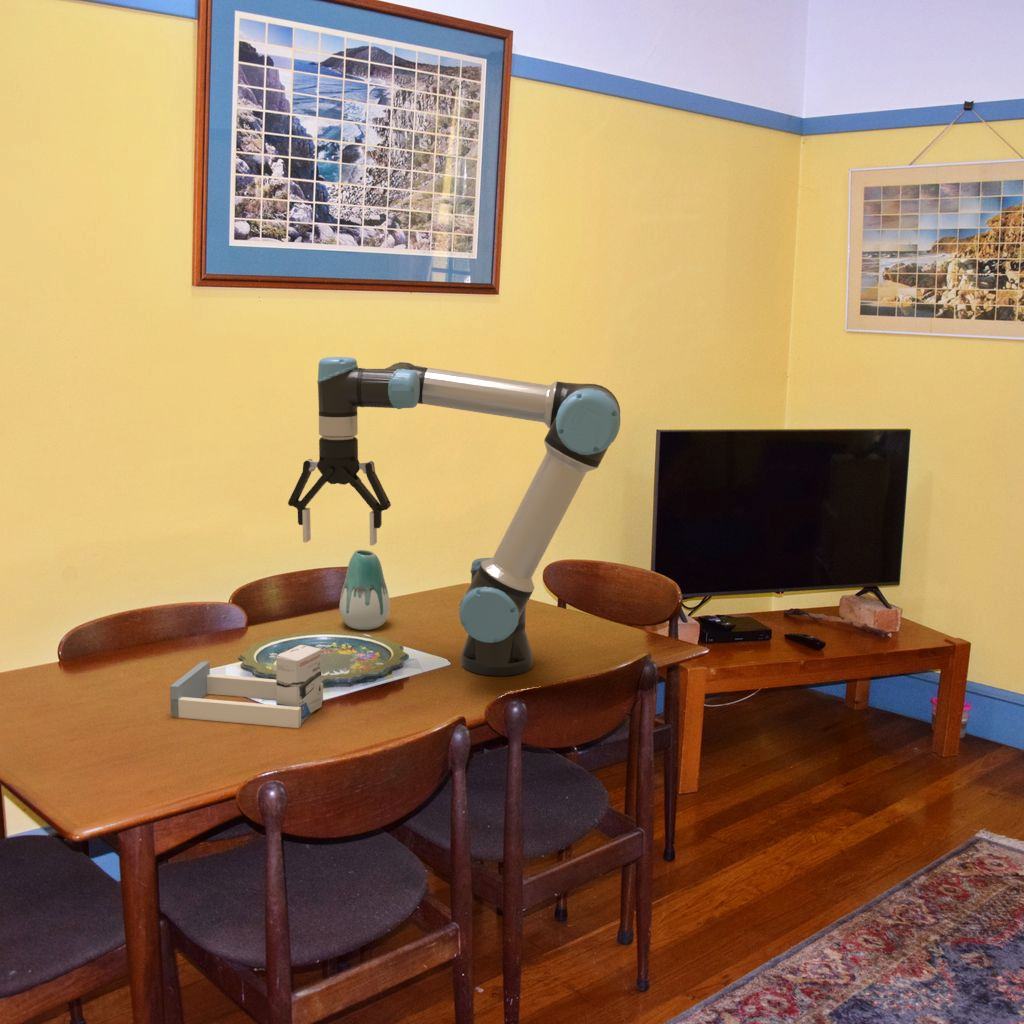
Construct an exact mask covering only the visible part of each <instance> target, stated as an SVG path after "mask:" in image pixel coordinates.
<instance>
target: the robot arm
mask: <svg viewBox="0 0 1024 1024" xmlns="http://www.w3.org/2000/svg"><path fill="white" fill-rule="evenodd" d="M317 372H318V373H317V376H318V377H317V381H316V382H317V396H318V397H317V398H318V435H320V436H321V437H320V438H319V440H318V447H319V448H318V449H319V450H318V452H319V453H318V454H319V455H318V456H319V460H318V461H314V460H313V459H312V458H309V459H307V460H305V461H304V462H303V463H302V464H303V466H302V471H301V474H300V476H299V478H298V481H297V482H296V484H295V486H294V489H293V491H292V493H291V495H290V497H289V499H288V501H287V504H288V506H289V507H294V508H296V510H297V524H298V525H299V526H302V542H303V543H305V544H306V543H308V542H310V541H311V536H312V535H311V534H312V532H311V507H307V505H308V504H310V502H311V501H312V500H313V498H314V497H315V496H316V495H317V494H318V493H319V491H320V490H321V489H322V488H323V487H324V485H325V484H326V483H329V484H330V485H335V484H339V485H344V486H345V485H347V484H349V485H350V486H351V487H352V488H354V490H355V491H356V492H357V493H358V495H359V496H361V498H362V499H363V500H364V502H365V503H366V504H367V505H368V506H369V508H370V509H371V511H370V512H369V546H375V545H376V544H377V543H378V542H377V541H378V537H377V536H378V533H377V532H378V530H377V529H380V528H381V527H382V524H383V523H382V522H383V521H382V516H383V515H382V512H383V511H386V510H388V509H390V507H391V506H392V503H391V502H390V499H389V497H388V495H387V493H386V491H385V489H384V487H383V485H382V483H381V481H380V478H379V477H378V475H377V473H376V468H375V463H374V461H372V460H370V461H368V462H360V461H359V446H358V445H359V443H358V438H357V437H356V436H357V435H358V431H359V430H358V428H359V427H358V426H359V425H358V408H382V409H383V408H385V409H386V408H387V409H397V410H401V409H413V408H415V407H416V406H417V405H418V404H420V405H427V406H435V407H442V408H448V409H454V410H458V411H459V410H461V411H468V412H473V413H480V414H487V415H493V416H500V417H506V418H513V419H519V420H525V421H532V422H538V423H543V424H544V425H546V426H547V428H548V432H547V433H546V436H545V438H544V440H543V442H544V443H543V444H544V446H545V449H546V452H545V455H544V456H543V459H542V461H541V463H540V465H539V467H538V469H537V470H536V472H535V475H534V476H533V479H532V481H531V482H530V484H529V486H528V489H527V490H526V492H525V494H524V496H523V498H522V499H521V502H520V504H519V505H518V508H517V509H516V512H515V513H514V516H513V518H512V520H511V521H510V523H509V525H508V528H507V530H506V531H505V533H504V535H503V537H502V539H501V541H500V543H499V545H498V547H497V548H496V550H495V552H494V555H493V557H480V558H476V559H474V560H473V561H472V563H471V569H470V573H471V578H470V585H469V586H468V589H467V591H466V593H465V594H464V595H463V597H462V599H461V600H460V604H459V608H458V609H459V610H458V611H459V612H458V613H459V620H460V624H461V626H462V628H463V630H464V631H465V632H466V633H467V638H466V641H465V643H464V647H463V649H462V652H461V666H462V668H464V669H465V670H466V671H469V672H470V673H471V672H472V673H474V674H478V675H484V676H493V677H497V676H498V677H504V676H516V675H519V674H524V673H525V672H528V671H529V670H531V669H532V667H533V661H534V659H533V657H534V656H533V652H532V649H531V645H530V642H529V639H528V635H527V632H526V617H527V614H526V612H527V610H526V609H527V604H528V602H529V599H530V598H531V596H532V595H533V592H534V590H535V586H534V583H533V578H532V577H533V576H534V574H535V572H536V570H537V568H538V567H539V564H540V563H541V560H542V558H543V556H544V554H545V553H546V551H547V549H548V547H549V545H550V543H551V541H552V539H553V537H554V535H555V533H556V532H557V530H558V528H559V526H560V524H561V522H562V520H563V518H564V516H565V515H566V512H567V511H568V509H569V506H570V505H571V503H572V501H573V499H574V497H575V495H576V493H577V491H578V489H579V487H580V485H581V484H582V482H583V480H584V478H585V476H586V474H587V473H588V472H591V471H594V470H596V469H598V468H599V466H600V464H601V462H602V460H603V458H604V456H605V455H606V452H607V451H608V449H609V447H610V446H611V445H612V443H613V442H614V441H615V440H616V438H617V436H618V434H619V431H620V428H621V407H620V404H619V401H618V399H617V397H616V396H615V394H614V393H613V392H612V391H611V390H610V389H608V388H606V387H605V386H603V385H600V384H597V383H576V382H575V383H573V382H566V381H565V382H564V381H557V380H556V381H554V382H553V383H551V384H543V383H536V382H528V381H522V380H515V379H508V378H502V377H501V378H500V377H493V376H490V375H489V376H488V375H480V374H475V373H467V372H461V371H455V370H446V369H440V368H435V367H424V366H419V365H415V364H413V363H411V362H405V361H401V362H400V361H399V362H396V363H393V364H391V366H388V367H386V368H363V367H359V365H358V362H357V359H356V358H354V357H347V356H329V357H328V356H327V357H326V356H325V357H322V358H321V359H320V360H319V362H318V371H317ZM316 468H317V470H318V471H319V472H320V474H321V476H320V477H319V478H318V479H317V481H316V482H315V483H314V484H313V486H312V487H311V488H310V490H308V492H307V493H306V494H305V495H304V496H303V497H302V499H301V500H300V498H301V496H302V493H303V492H304V489H305V487H306V485H307V484H308V481H309V478H310V476H311V475H312V472H314V471H316ZM360 470H361V471H362V472H363V474H365V475H366V478H367V480H368V482H369V485H370V486H371V488H372V490H373V492H374V494H375V496H376V497H375V496H374V495H373V494H372V493H371V491H370V490H369V489H368V488H367V486H366V485H365V484H364V483H363V481H362V479H361V478H360V477H359V476H358V475H357V474H358V472H359V471H360Z"/></svg>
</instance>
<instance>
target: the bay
mask: <svg viewBox="0 0 1024 1024" xmlns="http://www.w3.org/2000/svg"><path fill="white" fill-rule="evenodd" d="M210 665H211V663H210V661H205V660H204V661H203V660H202V661H201V662H200V663H198V664H197V665H196V666H193V668H191V669H190V670H189V671H188V672H186V673H185V674H184V675H182V676H181V677H180V678H178V679H177V680H176V681H175V682H174V683H172V684H171V685H169V686H170V687H169V691H170V692H169V694H170V695H169V696H170V717H171V718H179V719H180V718H181V719H190V720H201V721H202V720H203V721H210V722H211V721H212V722H213V721H214V722H224V723H237V724H246V725H247V724H248V725H249V724H250V725H256V726H257V725H260V726H268V727H269V726H270V727H280V728H293V729H299V728H301V726H302V724H301V707H294V706H282V705H277V704H269V703H268V704H267V703H258V702H247V701H245V702H244V701H235V700H221V699H210V698H204V697H205V696H206V695H207V694H208V695H218V696H228V697H229V696H230V697H241V698H253V699H254V698H255V699H263V700H264V699H265V700H275V701H277V687H276V686H277V681H276V679H274V678H273V679H271V678H263V677H262V678H261V677H249V676H240V675H239V676H236V675H226V674H215V673H214V674H213V673H211V670H210ZM323 701H324V683H322V703H323Z"/></svg>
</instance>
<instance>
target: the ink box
mask: <svg viewBox="0 0 1024 1024" xmlns="http://www.w3.org/2000/svg"><path fill="white" fill-rule="evenodd" d="M322 652H323V651H322V648H319V647H315V646H311V645H305V644H299V645H297V646H294V647H292V648H290V649H288V650H286V651H283V652H280V653H279V654H277V656H276V659H275V660H276V662H275V663H276V664H275V665H276V672H275V673H276V674H275V675H276V676H275V678H276V679H275V680H276V681H277V686H276V687H277V700H276V705H282V706H294V707H301V718H303V717H305V716H306V715H308V714H310V713H312V712H313V711H314V712H315V711H316V710H319V709H320V708H322V704H323V702H322V681H323V678H322V677H323V676H322V674H323V673H322V671H323V670H322V666H323V664H322V660H323V659H322V658H323V655H322ZM314 712H313V713H314ZM313 713H312V714H313Z"/></svg>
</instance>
